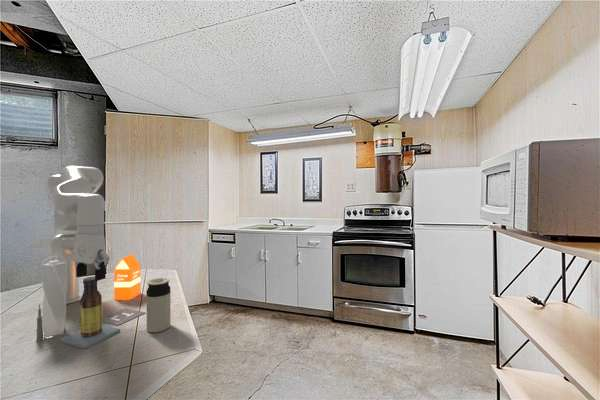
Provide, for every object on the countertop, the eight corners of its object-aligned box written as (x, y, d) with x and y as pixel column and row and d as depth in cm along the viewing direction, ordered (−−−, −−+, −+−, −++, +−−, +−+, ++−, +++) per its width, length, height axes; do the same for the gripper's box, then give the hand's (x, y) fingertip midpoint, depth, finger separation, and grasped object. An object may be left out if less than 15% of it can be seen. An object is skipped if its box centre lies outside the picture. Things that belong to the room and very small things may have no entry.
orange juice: (140, 293, 138) (140, 254, 138) (130, 299, 129) (130, 258, 129) (125, 293, 138) (125, 254, 137) (113, 299, 129) (113, 258, 129)
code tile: (96, 320, 107) (96, 319, 107) (125, 308, 119) (125, 308, 119) (118, 325, 103) (118, 324, 103) (145, 312, 115) (145, 312, 115)
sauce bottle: (88, 328, 98) (88, 274, 98) (106, 328, 99) (106, 274, 98) (75, 338, 92) (74, 280, 91) (94, 338, 92) (94, 280, 92)
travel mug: (146, 335, 96) (145, 285, 96) (147, 325, 103) (146, 279, 103) (170, 330, 100) (170, 281, 100) (170, 321, 107) (170, 276, 107)
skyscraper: (39, 332, 98) (39, 256, 98) (69, 326, 103) (68, 253, 103) (35, 342, 92) (35, 260, 91) (67, 335, 96) (66, 257, 96)
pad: (60, 342, 92) (60, 339, 92) (97, 326, 103) (97, 323, 103) (84, 348, 87) (84, 345, 87) (120, 331, 99) (120, 328, 99)
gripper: (62, 229, 94) (62, 277, 95) (96, 232, 88) (96, 284, 89) (85, 226, 101) (85, 272, 102) (118, 230, 95) (118, 278, 96)
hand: (90, 277), depth 95 cm, fingers open, 9 cm apart
